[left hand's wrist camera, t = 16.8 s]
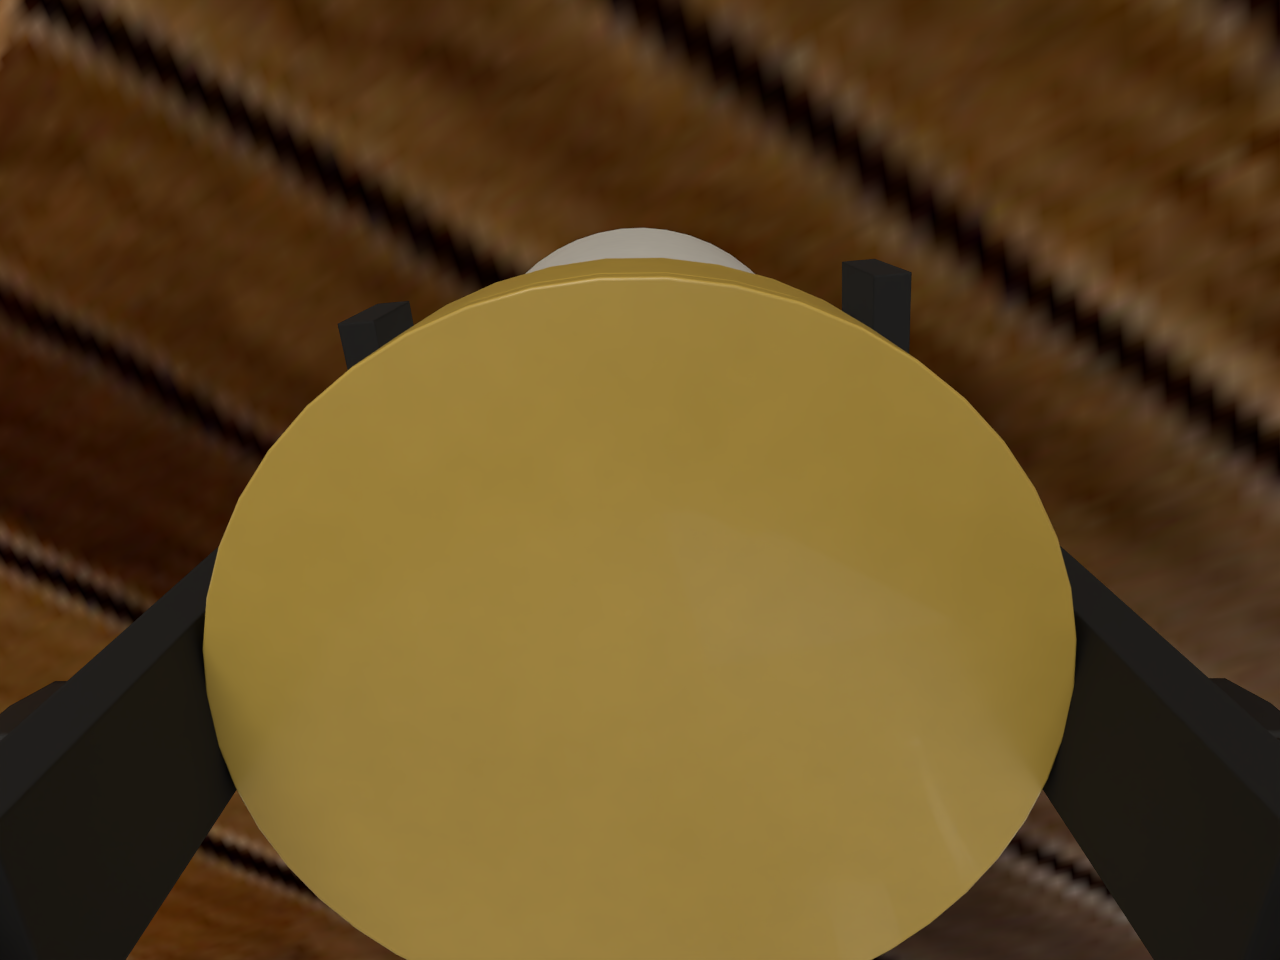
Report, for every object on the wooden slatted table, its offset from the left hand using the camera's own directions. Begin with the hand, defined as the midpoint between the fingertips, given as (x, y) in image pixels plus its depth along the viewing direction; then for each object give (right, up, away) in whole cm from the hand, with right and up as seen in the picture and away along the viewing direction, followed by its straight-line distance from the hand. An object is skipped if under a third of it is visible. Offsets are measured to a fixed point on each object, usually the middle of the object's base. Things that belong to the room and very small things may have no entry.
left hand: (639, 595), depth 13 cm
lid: (0, -1, -3) cm, 3 cm away
